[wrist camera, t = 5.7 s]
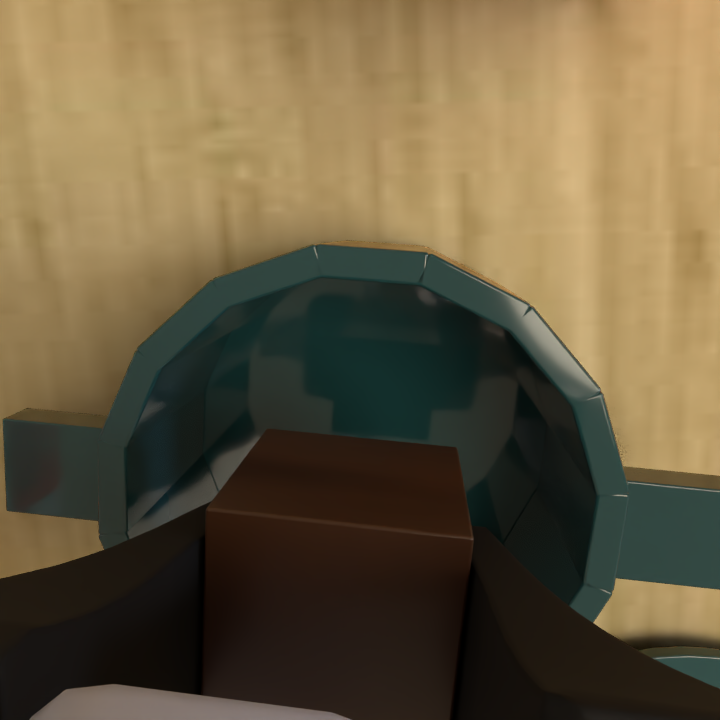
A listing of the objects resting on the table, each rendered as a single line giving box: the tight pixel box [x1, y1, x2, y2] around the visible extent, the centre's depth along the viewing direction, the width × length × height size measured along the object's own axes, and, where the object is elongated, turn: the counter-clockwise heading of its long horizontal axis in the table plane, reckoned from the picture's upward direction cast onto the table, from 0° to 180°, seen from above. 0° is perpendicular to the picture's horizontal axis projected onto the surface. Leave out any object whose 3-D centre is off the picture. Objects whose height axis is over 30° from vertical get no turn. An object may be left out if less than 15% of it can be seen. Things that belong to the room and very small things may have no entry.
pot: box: [3, 240, 720, 623], centre depth 17 cm, size 12×17×6 cm
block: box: [201, 429, 474, 720], centre depth 12 cm, size 4×4×4 cm
